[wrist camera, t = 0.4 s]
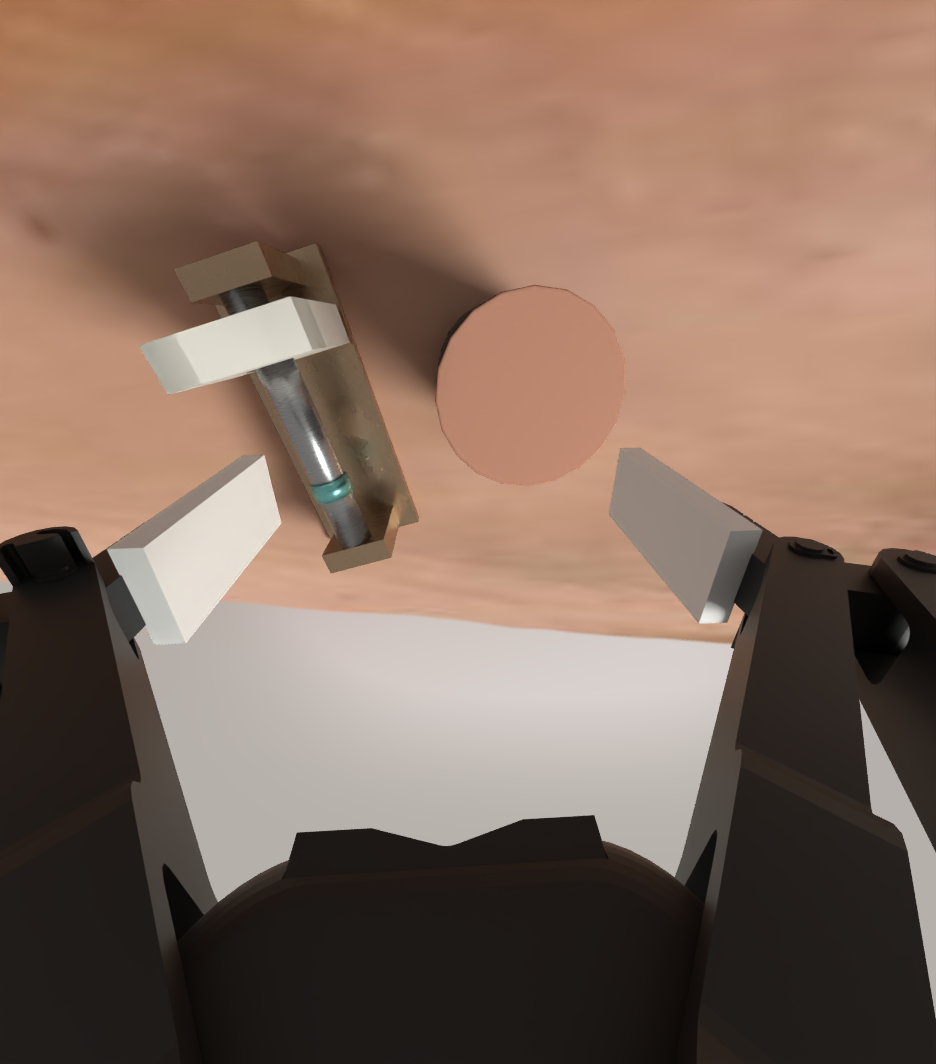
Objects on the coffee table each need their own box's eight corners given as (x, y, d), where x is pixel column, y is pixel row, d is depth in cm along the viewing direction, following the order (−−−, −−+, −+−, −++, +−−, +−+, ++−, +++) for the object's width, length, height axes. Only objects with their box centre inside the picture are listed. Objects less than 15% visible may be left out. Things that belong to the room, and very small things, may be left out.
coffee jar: (563, 400, 40) (641, 451, 24) (463, 438, 41) (473, 510, 25) (534, 282, 35) (607, 247, 19) (421, 329, 37) (402, 333, 21)
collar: (226, 339, 34) (138, 345, 25) (335, 304, 34) (290, 296, 24) (244, 375, 36) (167, 394, 26) (350, 342, 35) (312, 349, 25)
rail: (209, 281, 34) (139, 269, 26) (319, 245, 33) (280, 221, 26) (335, 540, 46) (312, 583, 38) (418, 517, 45) (413, 557, 37)
